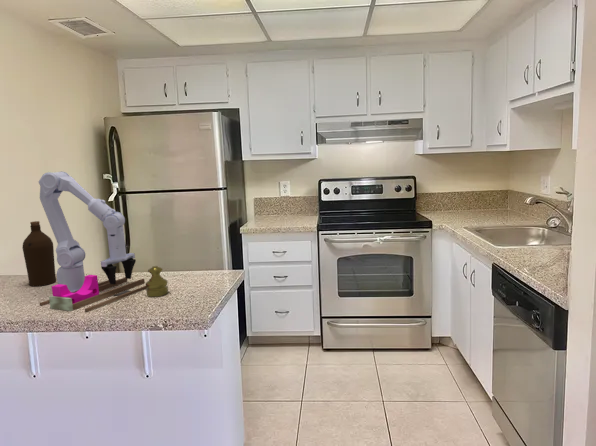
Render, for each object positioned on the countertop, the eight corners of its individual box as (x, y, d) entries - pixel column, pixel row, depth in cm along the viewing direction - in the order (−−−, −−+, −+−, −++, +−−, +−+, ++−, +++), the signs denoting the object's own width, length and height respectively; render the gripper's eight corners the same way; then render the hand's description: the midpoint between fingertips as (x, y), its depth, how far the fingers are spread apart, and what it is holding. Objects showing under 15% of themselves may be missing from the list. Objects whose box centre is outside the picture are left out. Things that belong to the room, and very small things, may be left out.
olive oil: (58, 283, 180) (50, 221, 176) (27, 288, 175) (18, 224, 171) (57, 278, 189) (49, 219, 185) (28, 282, 184) (19, 221, 180)
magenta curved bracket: (67, 310, 146) (64, 287, 145) (54, 308, 149) (51, 286, 148) (104, 296, 160) (102, 275, 159) (91, 295, 162) (89, 274, 161)
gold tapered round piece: (168, 290, 163) (165, 262, 162) (168, 295, 156) (166, 267, 155) (146, 292, 161) (144, 265, 160) (146, 298, 154) (143, 269, 153)
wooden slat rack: (37, 306, 151) (36, 294, 150) (114, 280, 180) (113, 270, 180) (84, 312, 142) (83, 300, 141) (157, 284, 171) (156, 274, 171)
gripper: (109, 249, 159) (113, 287, 161) (139, 242, 172) (143, 276, 174) (94, 249, 162) (99, 285, 164) (125, 241, 175) (129, 275, 177)
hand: (120, 281), depth 169 cm, fingers open, 7 cm apart
